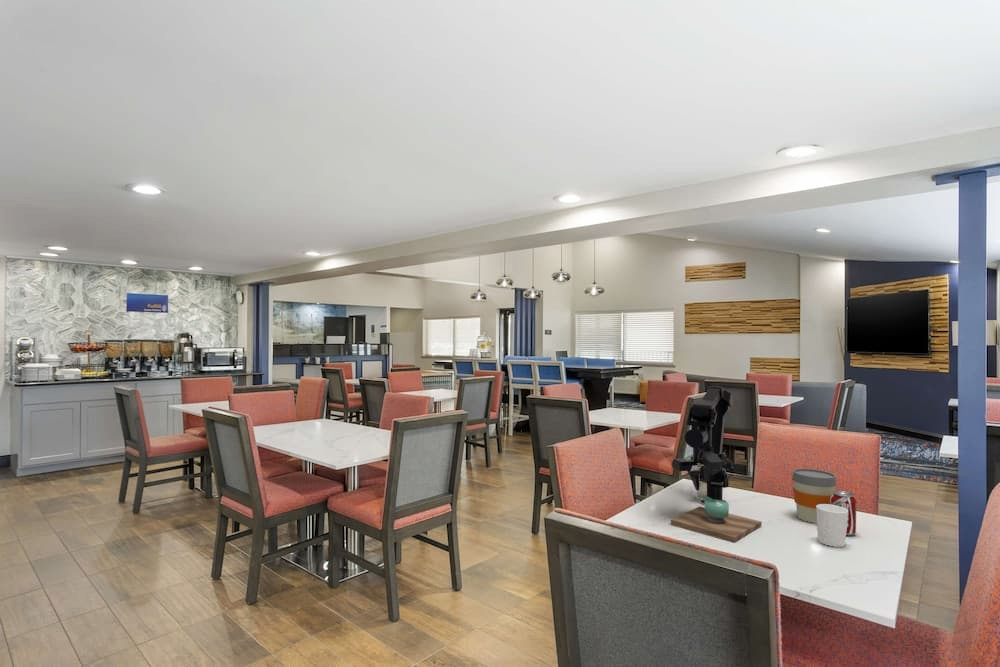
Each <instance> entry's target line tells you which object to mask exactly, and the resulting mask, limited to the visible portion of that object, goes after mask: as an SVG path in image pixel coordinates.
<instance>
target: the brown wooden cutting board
mask: <svg viewBox="0 0 1000 667" xmlns="http://www.w3.org/2000/svg"><path fill="white" fill-rule="evenodd" d="M670 525H671V526H675V527H678V528H682V529H685V530H689V531H693V532H696V533H701V534H704V535H707V536H710V537H715V538H717V539H721V540H726V541H728V542H732V543H737V542H739V541H740V540H742V539H744V538H745V537H747V536H748V535H750V534H753V532H755V531H757V530H758V529H759V528H762V526H763V525H762V521H761V520H757V519H753V518H748V517H746V516H745V517H744V516H740V515H736V514H733V513H729V514H728V517H726V518H716V517H711V516H708V515H706V514H705V513H704V506H701V505H700V506H697V507H696V508H694V509H691V510H689V511H686V512H684V513H682V514H680V515H677V516H675V517H674V518H671V519H670Z"/></svg>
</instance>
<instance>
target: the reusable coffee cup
mask: <svg viewBox="0 0 1000 667" xmlns="http://www.w3.org/2000/svg"><path fill="white" fill-rule="evenodd" d="M792 481H793V487H792V493H793V500H794V503H795V504H796V505H795V506H796V514H797V519H799V518H800V519H802V520H801V521H803V520H804V521H803V522H805V521H808V522H807V523H809V522H814V523H813V524H815V523H817V514H816V506H817V505H819V504H829V505H830V497H831V496H832V495H833V491H836V490H835V489H836V486H837V476H836V474H834V473H832V472H829V471H825V470H821V469H820V470H819V469H812V468H796V469H793V470H792ZM800 519H799V520H800Z"/></svg>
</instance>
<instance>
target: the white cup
mask: <svg viewBox="0 0 1000 667" xmlns="http://www.w3.org/2000/svg"><path fill="white" fill-rule="evenodd" d="M816 514H817V524H816V530H817V542H819V543H821V544H822V545H824V544H825V546H828V545H829V547H832V546H833V548H843V547H845V545H846V537H847V536H846V532H847V520H848V510H847V509H845V508H843V507H840V506H836V505H829V504H819V505H817V506H816Z"/></svg>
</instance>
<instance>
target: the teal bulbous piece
mask: <svg viewBox="0 0 1000 667" xmlns="http://www.w3.org/2000/svg"><path fill="white" fill-rule="evenodd" d="M696 495H697V497H698V498H699V499H700V500H704V501H705V502H704V505H703V507H704V513H705V514H706V515H708V516H711V517H716V518H726V517H728V514H730V513H729V511H730V510H729V508H730V507H729V506H730V504H729V503H728V502H727V501H726V502H724V501H720V500H713V499H711V498H710V497H708V496H706V495H707V482H704V481H700V480H699V490H698V491H697V490H696Z"/></svg>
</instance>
